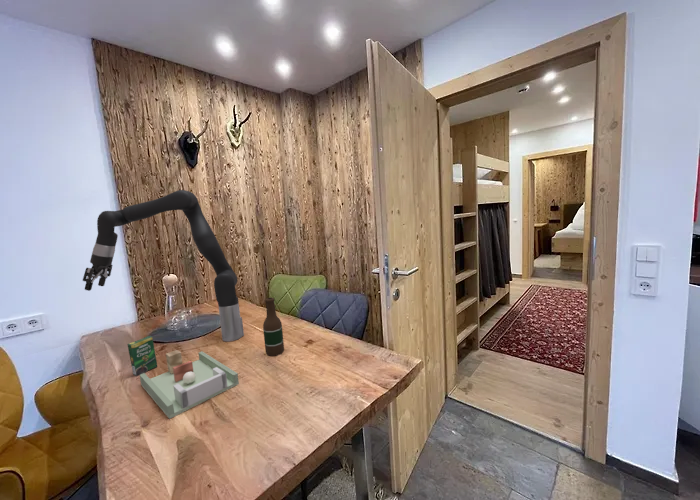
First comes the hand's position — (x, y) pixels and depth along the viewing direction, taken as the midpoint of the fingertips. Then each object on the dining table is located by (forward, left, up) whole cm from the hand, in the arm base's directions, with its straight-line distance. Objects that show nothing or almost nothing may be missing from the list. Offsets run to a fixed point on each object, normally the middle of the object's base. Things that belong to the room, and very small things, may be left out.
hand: (94, 287), depth 132 cm
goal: (-14, +74, -31) cm, 82 cm away
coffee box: (-7, +37, -32) cm, 49 cm away
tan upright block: (-14, +54, -30) cm, 63 cm away
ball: (-14, +64, -28) cm, 71 cm away
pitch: (-14, +63, -31) cm, 72 cm away
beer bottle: (-47, +68, -32) cm, 88 cm away
